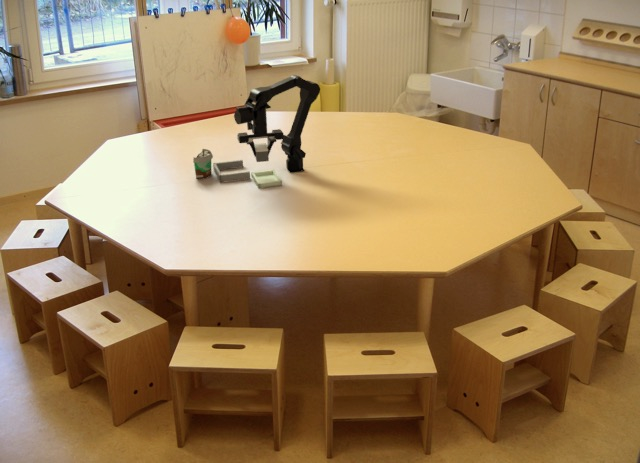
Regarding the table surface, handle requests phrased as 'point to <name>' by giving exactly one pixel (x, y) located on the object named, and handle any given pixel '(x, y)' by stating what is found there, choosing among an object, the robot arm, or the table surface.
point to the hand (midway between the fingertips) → (261, 155)
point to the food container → (203, 164)
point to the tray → (266, 179)
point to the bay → (233, 175)
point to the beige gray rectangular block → (261, 152)
